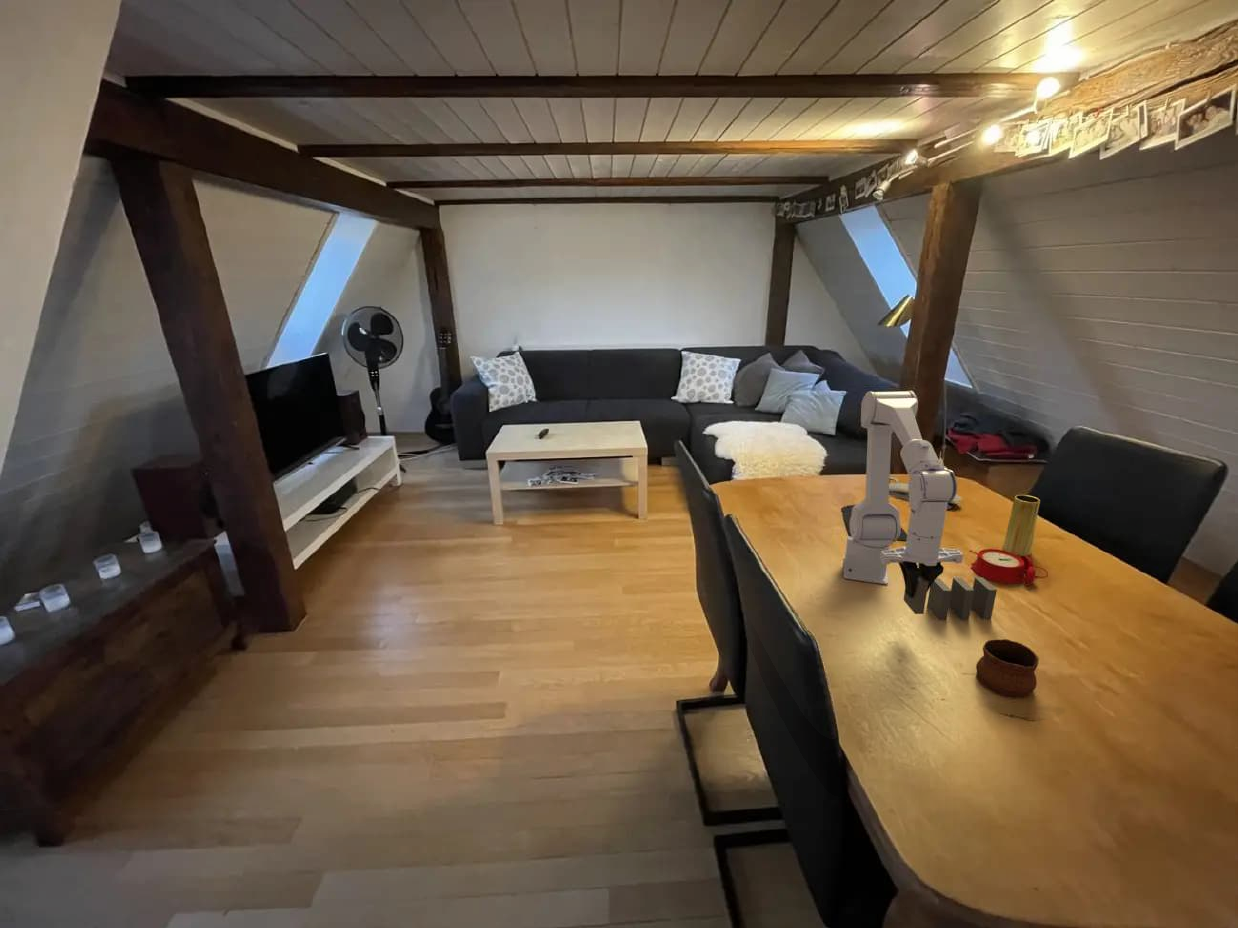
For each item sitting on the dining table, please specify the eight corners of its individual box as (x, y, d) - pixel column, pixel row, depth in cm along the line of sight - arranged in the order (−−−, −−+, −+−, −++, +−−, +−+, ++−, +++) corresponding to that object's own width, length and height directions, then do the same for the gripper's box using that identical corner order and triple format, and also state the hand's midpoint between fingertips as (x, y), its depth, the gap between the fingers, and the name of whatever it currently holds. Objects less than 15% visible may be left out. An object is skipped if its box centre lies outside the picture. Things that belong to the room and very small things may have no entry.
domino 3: (982, 619, 118) (988, 589, 116) (969, 606, 123) (974, 577, 120) (990, 619, 118) (997, 589, 116) (976, 606, 123) (982, 577, 120)
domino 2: (960, 620, 118) (966, 590, 116) (948, 606, 123) (953, 577, 120) (968, 619, 118) (974, 590, 116) (955, 606, 123) (960, 577, 120)
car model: (886, 484, 191) (888, 470, 190) (966, 504, 174) (968, 489, 173) (870, 493, 185) (872, 479, 183) (952, 515, 167) (955, 499, 166)
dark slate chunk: (892, 511, 171) (894, 497, 169) (910, 545, 151) (912, 528, 149) (837, 508, 174) (839, 494, 173) (848, 540, 154) (850, 524, 153)
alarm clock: (967, 545, 141) (1042, 543, 134) (970, 568, 143) (1044, 567, 135) (970, 564, 133) (1050, 563, 125) (973, 588, 134) (1052, 589, 126)
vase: (1004, 554, 143) (1015, 501, 139) (999, 543, 149) (1010, 492, 144) (1033, 557, 141) (1045, 504, 137) (1027, 547, 147) (1039, 495, 142)
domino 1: (938, 620, 118) (943, 590, 116) (926, 606, 123) (931, 578, 121) (946, 620, 118) (951, 590, 116) (934, 606, 123) (939, 577, 121)
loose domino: (914, 613, 110) (919, 581, 108) (903, 599, 115) (908, 568, 113) (923, 613, 110) (928, 581, 108) (911, 599, 115) (916, 568, 113)
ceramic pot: (1074, 736, 89) (1084, 699, 86) (943, 699, 97) (949, 664, 95) (1059, 670, 103) (1067, 637, 101) (947, 643, 112) (952, 612, 110)
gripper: (895, 541, 104) (886, 606, 108) (976, 540, 103) (964, 605, 108) (879, 525, 110) (871, 586, 115) (955, 523, 110) (944, 585, 114)
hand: (915, 594), depth 112 cm, fingers closed on loose domino, 1 cm apart
